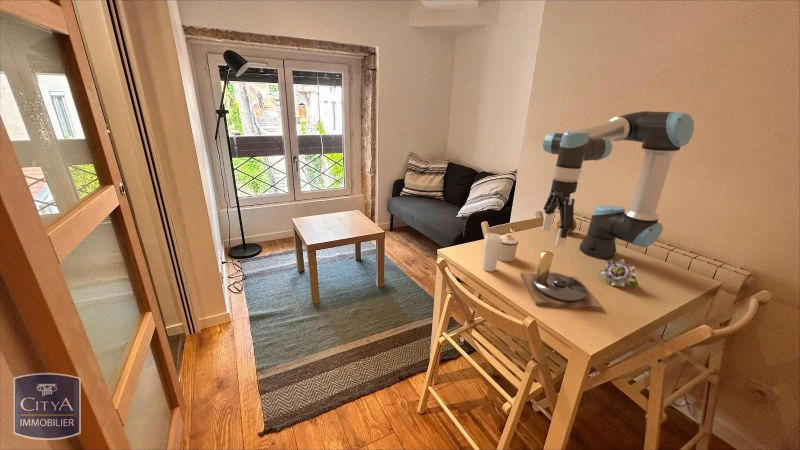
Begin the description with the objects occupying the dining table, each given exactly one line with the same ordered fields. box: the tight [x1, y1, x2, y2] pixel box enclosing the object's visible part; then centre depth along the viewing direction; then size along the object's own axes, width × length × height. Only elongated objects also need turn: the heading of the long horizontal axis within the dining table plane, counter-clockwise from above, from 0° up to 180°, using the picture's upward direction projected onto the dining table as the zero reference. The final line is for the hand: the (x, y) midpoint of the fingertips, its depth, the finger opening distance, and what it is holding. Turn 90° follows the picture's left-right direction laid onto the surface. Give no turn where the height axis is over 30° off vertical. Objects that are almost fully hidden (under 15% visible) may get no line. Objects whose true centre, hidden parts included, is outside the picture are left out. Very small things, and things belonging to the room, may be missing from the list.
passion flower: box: [598, 258, 639, 289], centre depth 124 cm, size 11×11×12 cm
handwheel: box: [533, 250, 587, 302], centre depth 114 cm, size 18×18×13 cm
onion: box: [556, 217, 577, 234], centre depth 173 cm, size 10×10×10 cm
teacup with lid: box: [497, 233, 519, 263], centre depth 141 cm, size 12×9×12 cm
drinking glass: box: [482, 232, 503, 272], centre depth 129 cm, size 7×7×15 cm
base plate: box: [520, 272, 603, 311], centre depth 117 cm, size 22×20×2 cm
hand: (552, 237), depth 112 cm, fingers open, 13 cm apart
